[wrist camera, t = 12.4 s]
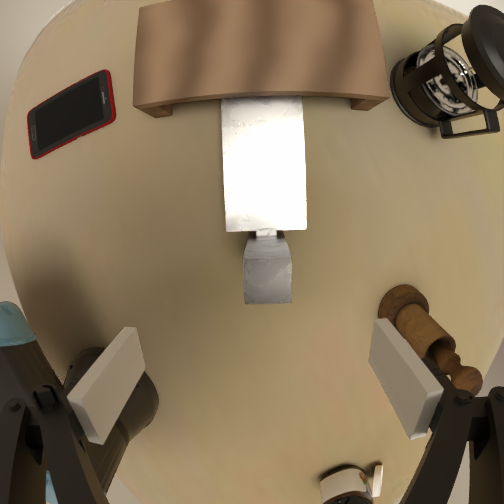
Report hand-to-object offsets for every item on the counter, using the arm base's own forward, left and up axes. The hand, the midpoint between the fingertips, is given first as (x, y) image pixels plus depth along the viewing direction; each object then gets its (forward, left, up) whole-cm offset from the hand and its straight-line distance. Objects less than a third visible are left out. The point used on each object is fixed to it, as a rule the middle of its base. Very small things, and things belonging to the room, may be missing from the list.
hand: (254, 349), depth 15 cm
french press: (+21, +20, -19) cm, 35 cm away
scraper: (+1, +9, -19) cm, 21 cm away
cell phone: (-24, +20, -20) cm, 37 cm away
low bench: (+1, +23, -19) cm, 30 cm away
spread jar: (+17, -43, -19) cm, 50 cm away
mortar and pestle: (+18, -7, -19) cm, 27 cm away
